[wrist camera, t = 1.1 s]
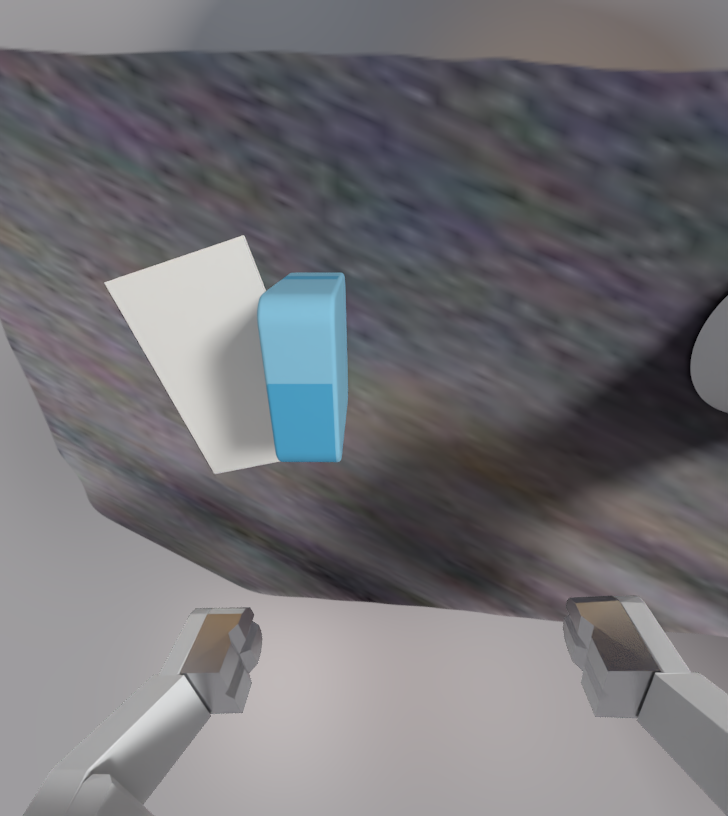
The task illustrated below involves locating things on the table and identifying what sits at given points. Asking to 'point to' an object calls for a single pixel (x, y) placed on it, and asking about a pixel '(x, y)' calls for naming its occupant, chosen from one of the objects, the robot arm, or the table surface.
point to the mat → (206, 347)
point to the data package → (306, 365)
